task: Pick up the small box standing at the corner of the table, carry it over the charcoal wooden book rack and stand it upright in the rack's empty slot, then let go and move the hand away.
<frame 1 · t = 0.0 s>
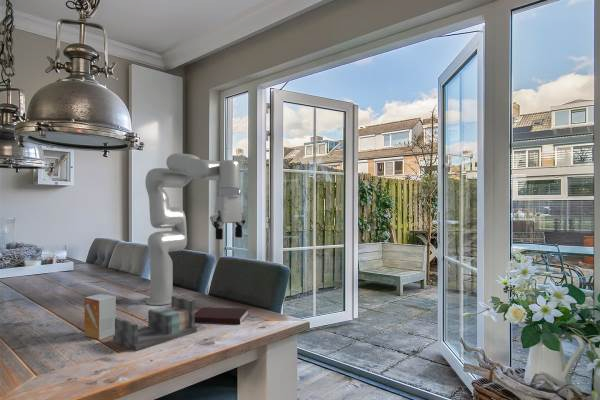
hand: (229, 238, 145), 31 cm above the table, tool pointing down, fingers open, 9 cm apart
small box: (100, 335, 129), on the table
book: (220, 320, 147), on the table
rack: (156, 336, 128), on the table
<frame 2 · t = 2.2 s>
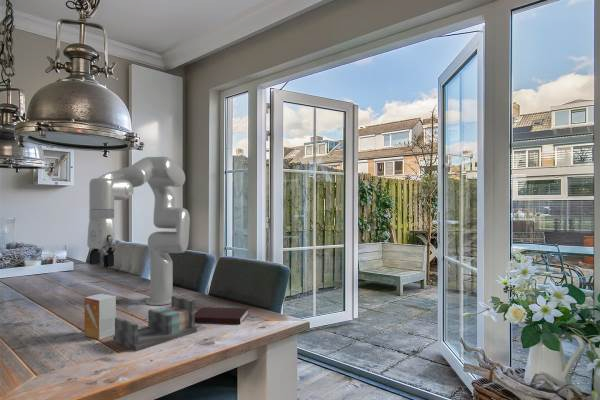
hand: (101, 265, 129), 24 cm above the table, tool pointing down, fingers open, 9 cm apart
nothing on the table moved.
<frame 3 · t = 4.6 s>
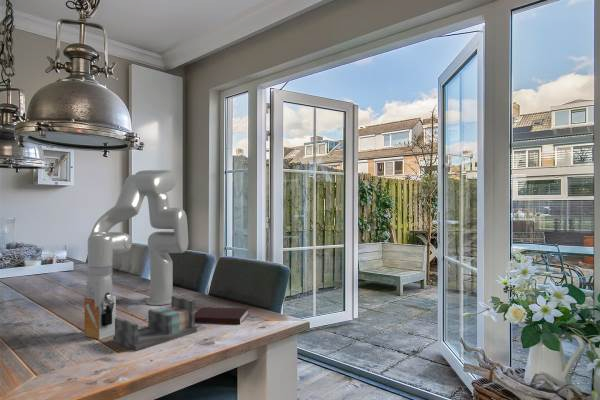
hand: (100, 322, 129), 4 cm above the table, tool pointing down, fingers closed on small box, 8 cm apart
small box: (100, 335, 129), on the table, touching gripper
everything else where it was.
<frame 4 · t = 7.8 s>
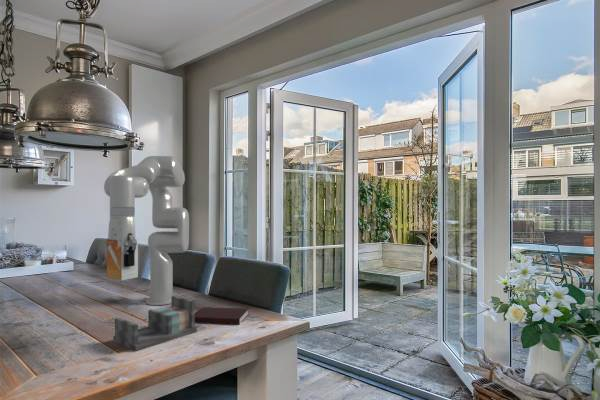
hand: (122, 264, 127), 24 cm above the table, tool pointing down, fingers closed on small box, 8 cm apart
small box: (122, 278, 127), point 20 cm above the table, touching gripper
everything else where it was.
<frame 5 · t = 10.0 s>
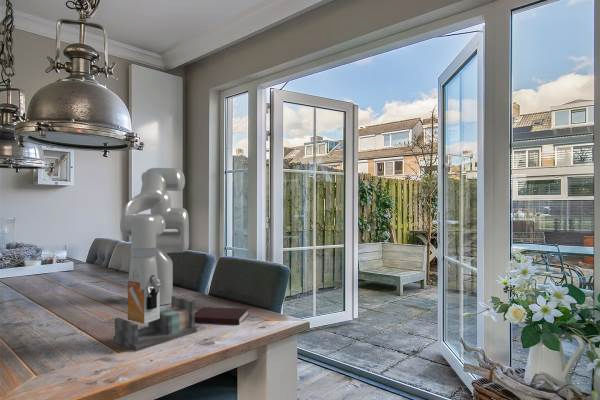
hand: (143, 306, 125), 11 cm above the table, tool pointing down, fingers closed on small box, 8 cm apart
small box: (143, 320, 125), point 6 cm above the table, touching gripper
everything else where it was.
when the fingers open (7 cm above the table, at t = 11.5 s): small box drops 1 cm, resting on rack.
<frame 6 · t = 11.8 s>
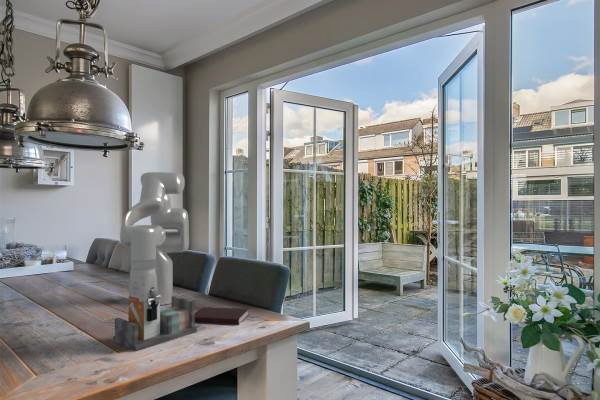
hand: (143, 317, 125), 7 cm above the table, tool pointing down, fingers open, 9 cm apart
small box: (144, 335, 125), point 1 cm above the table, touching rack
everything else where it was.
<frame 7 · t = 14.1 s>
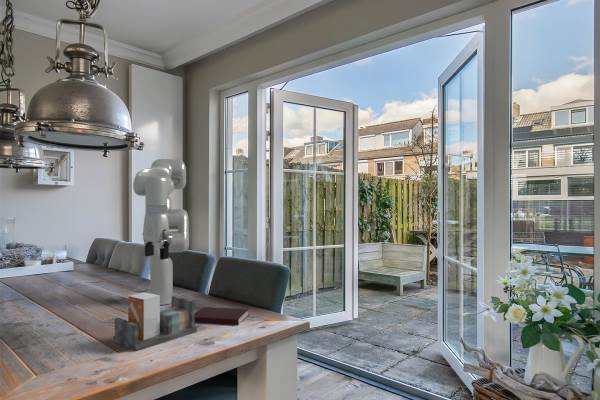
hand: (156, 257, 139), 25 cm above the table, tool pointing down, fingers open, 9 cm apart
nothing on the table moved.
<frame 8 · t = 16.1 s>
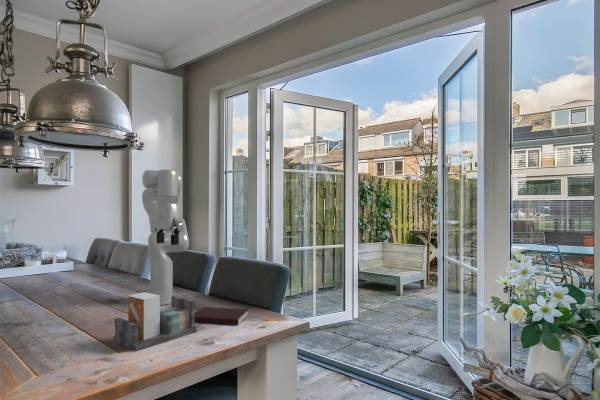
hand: (167, 243, 152), 28 cm above the table, tool pointing down, fingers open, 9 cm apart
nothing on the table moved.
at the end: small box 0.1 cm from the target spot on the rack, point 1.3 cm above the rack's base; small box tilted 0°; the gripper is holding nothing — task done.
